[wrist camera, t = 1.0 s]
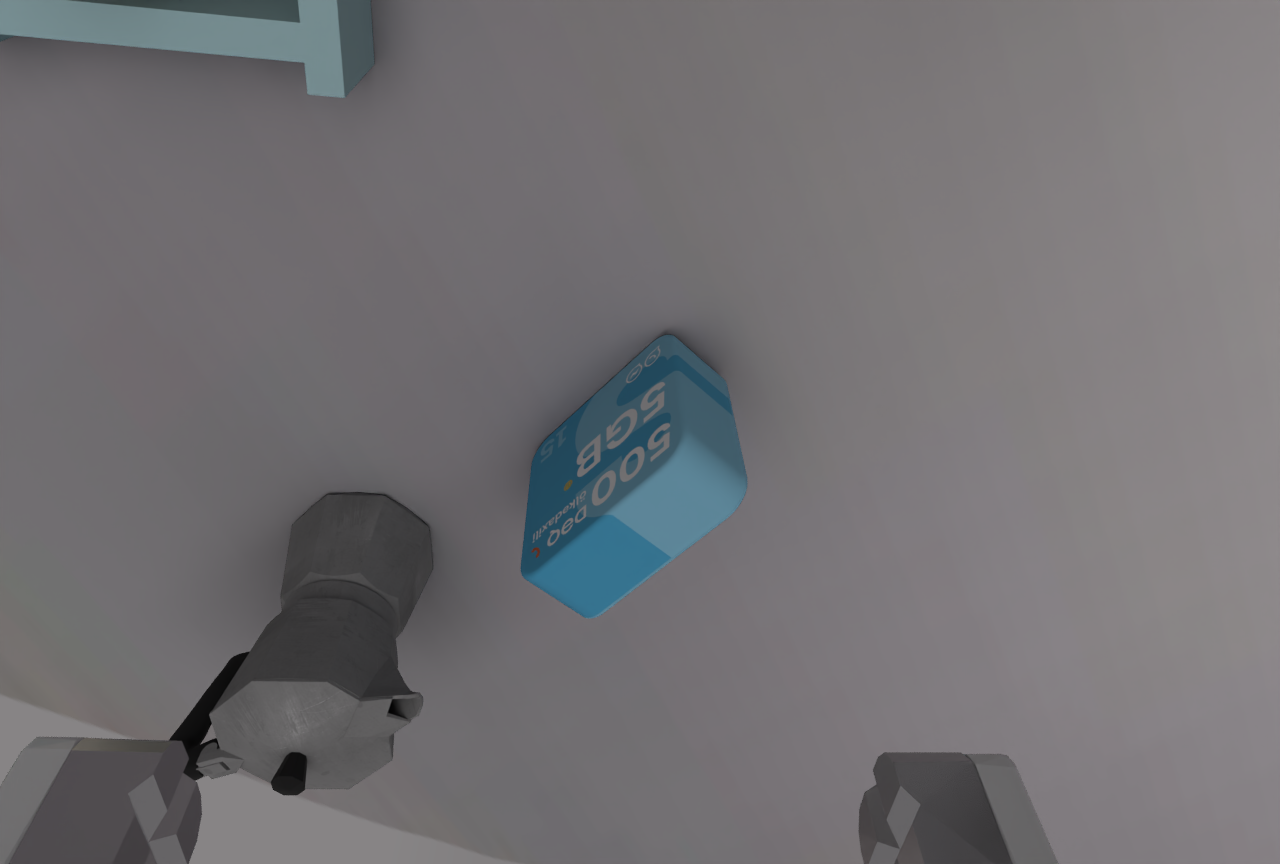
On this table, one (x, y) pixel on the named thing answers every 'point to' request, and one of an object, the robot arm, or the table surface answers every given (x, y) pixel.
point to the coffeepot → (322, 656)
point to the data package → (632, 479)
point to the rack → (216, 30)
